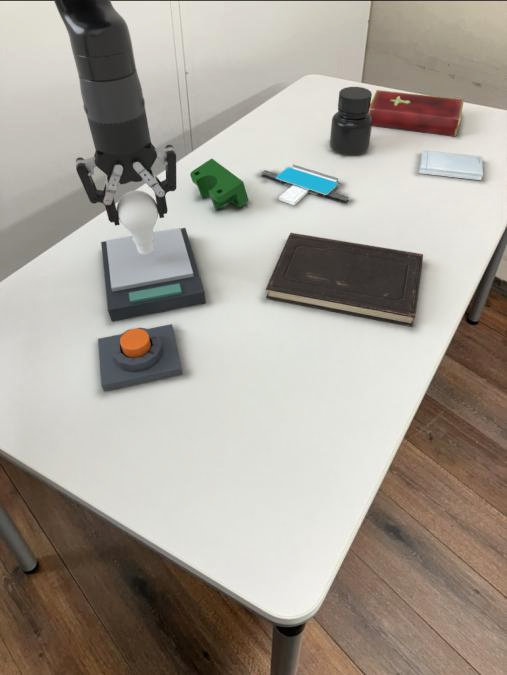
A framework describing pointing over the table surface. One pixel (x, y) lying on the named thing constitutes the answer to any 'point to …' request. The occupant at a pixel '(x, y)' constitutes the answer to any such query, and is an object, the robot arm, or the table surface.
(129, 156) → the robot arm
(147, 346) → the button
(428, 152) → the hard drive
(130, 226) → the lightbulb
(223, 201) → the clamp
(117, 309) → the scale
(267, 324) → the table surface
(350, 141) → the ink bottle
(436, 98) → the hardcover book
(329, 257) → the hardcover book
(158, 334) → the control unit
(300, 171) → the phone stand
